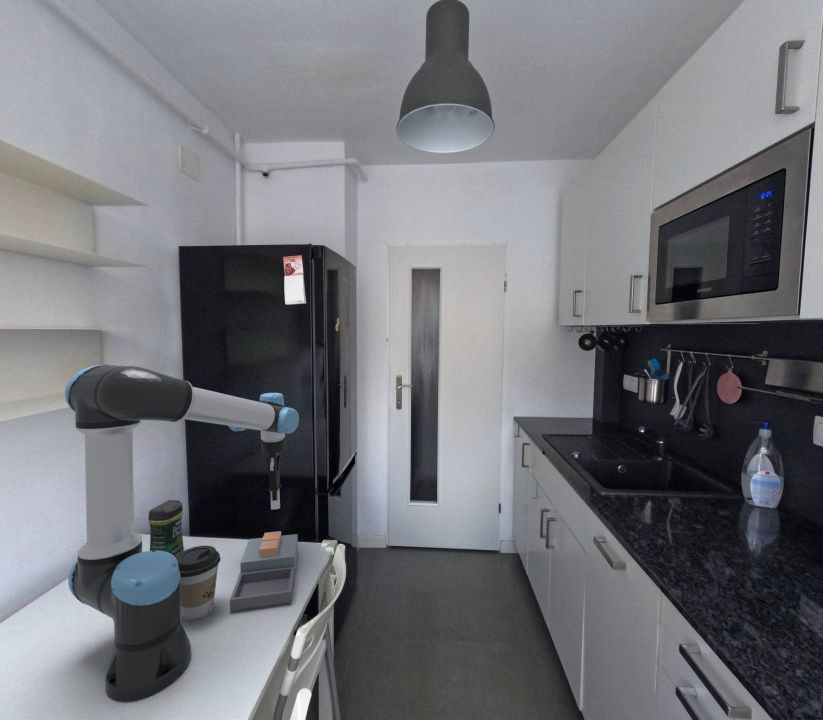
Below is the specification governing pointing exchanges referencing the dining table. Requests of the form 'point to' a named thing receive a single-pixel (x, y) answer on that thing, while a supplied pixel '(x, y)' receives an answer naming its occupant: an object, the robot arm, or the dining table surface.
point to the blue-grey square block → (282, 560)
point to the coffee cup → (197, 580)
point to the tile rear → (272, 536)
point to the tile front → (269, 548)
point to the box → (262, 589)
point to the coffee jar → (166, 528)
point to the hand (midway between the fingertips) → (275, 508)
